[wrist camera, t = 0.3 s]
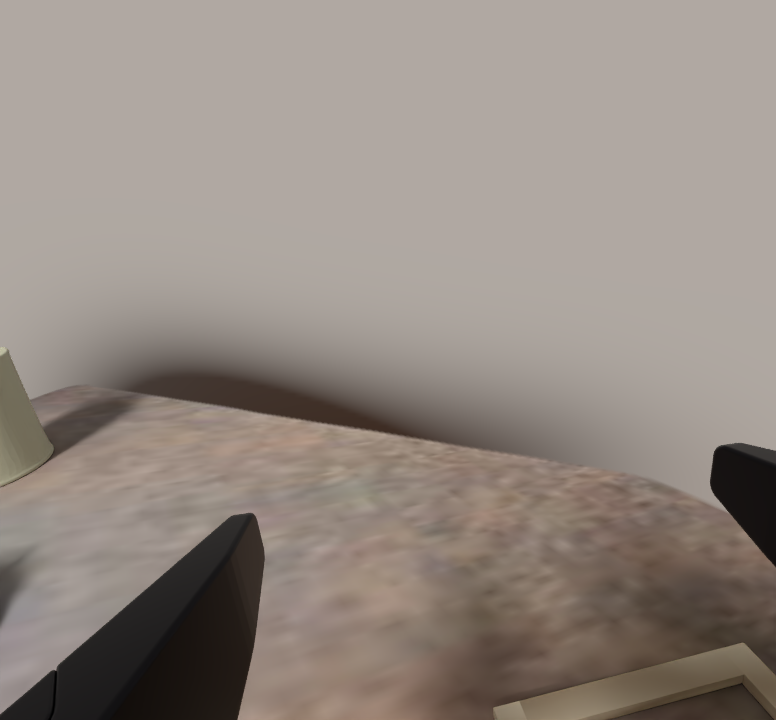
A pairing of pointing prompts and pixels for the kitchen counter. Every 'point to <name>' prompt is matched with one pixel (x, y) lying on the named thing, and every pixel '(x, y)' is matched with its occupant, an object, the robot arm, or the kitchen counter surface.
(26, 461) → the can
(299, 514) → the kitchen counter surface
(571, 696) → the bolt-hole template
